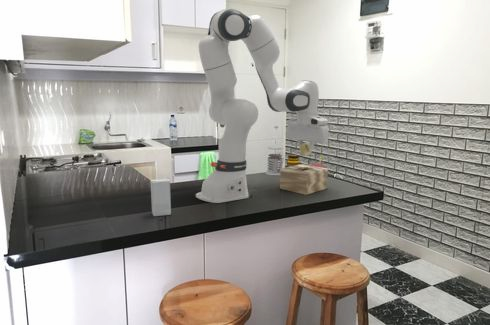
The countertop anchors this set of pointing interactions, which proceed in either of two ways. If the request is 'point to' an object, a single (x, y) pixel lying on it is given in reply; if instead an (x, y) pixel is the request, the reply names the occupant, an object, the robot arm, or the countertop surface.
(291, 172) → the box
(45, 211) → the countertop surface
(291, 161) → the condiment
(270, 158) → the french press
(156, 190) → the skincare box
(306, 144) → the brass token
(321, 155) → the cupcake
